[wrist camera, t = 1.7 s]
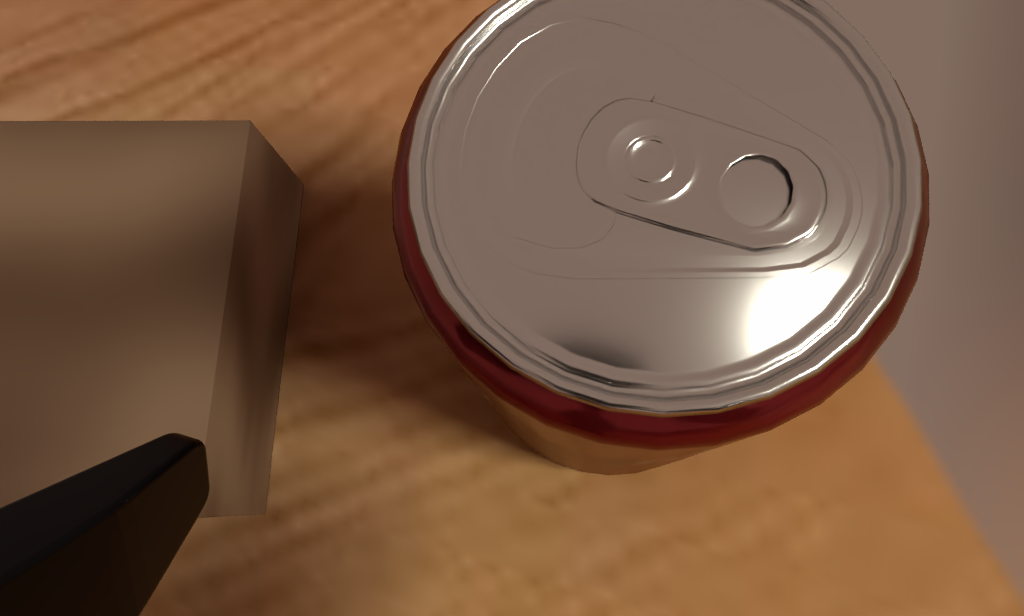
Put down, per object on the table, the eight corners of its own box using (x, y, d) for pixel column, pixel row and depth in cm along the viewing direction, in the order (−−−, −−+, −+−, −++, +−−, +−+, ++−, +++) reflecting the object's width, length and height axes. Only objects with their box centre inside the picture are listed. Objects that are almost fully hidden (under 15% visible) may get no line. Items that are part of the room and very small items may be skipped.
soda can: (439, 411, 21) (282, 303, 9) (541, 193, 22) (516, -137, 11) (680, 520, 20) (847, 553, 8) (771, 282, 21) (1023, 20, 9)
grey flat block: (264, 514, 20) (194, 517, 17) (-37, 501, 21) (-172, 503, 17) (303, 184, 23) (250, 120, 19) (32, 182, 24) (-72, 121, 20)
